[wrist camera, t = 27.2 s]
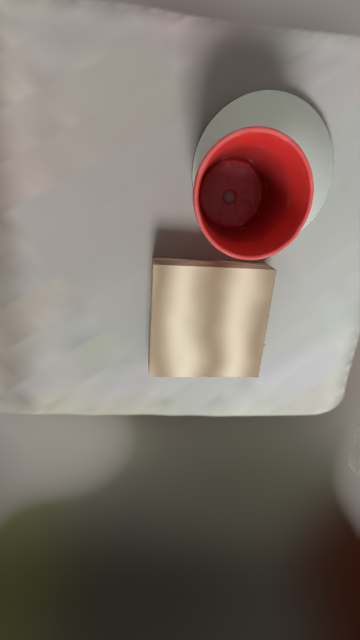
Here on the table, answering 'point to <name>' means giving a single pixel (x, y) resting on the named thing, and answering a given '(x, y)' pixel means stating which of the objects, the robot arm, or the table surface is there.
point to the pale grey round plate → (282, 116)
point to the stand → (208, 317)
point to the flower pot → (253, 192)
